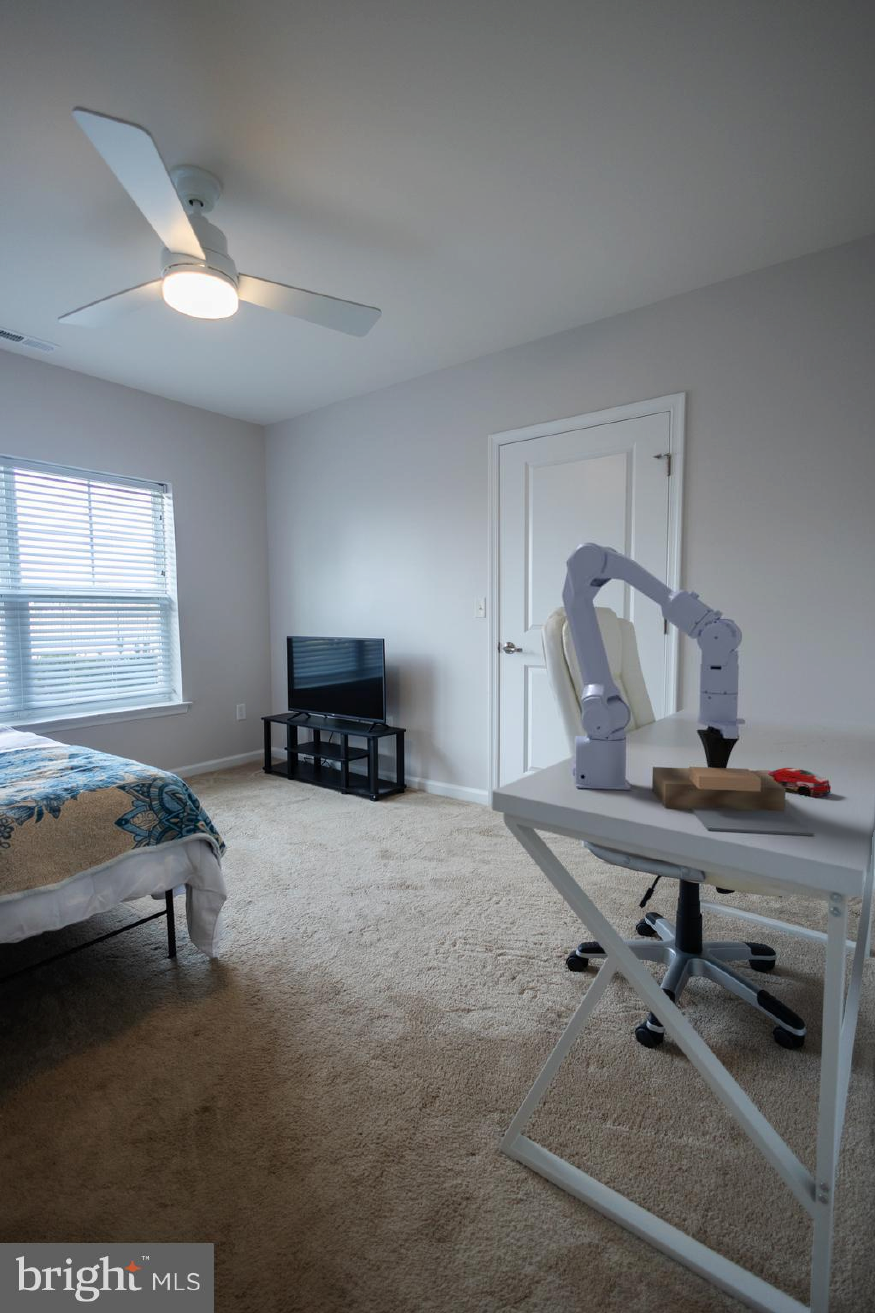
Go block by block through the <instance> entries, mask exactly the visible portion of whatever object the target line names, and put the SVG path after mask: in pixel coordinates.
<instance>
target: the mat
mask: <svg viewBox="0 0 875 1313" xmlns="http://www.w3.org/2000/svg"><path fill="white" fill-rule="evenodd" d="M690 810H691V811H692V813H693V814H694V813H695V814H694V815H695V816H696V818H697V819H698V820H699V821H700V822H701V824H702V825H703V826H704V828H705V829H706V830H707V831H709V832H710V831H713V832H715V831H716V832H729V833H730V832H731V833H733V832H736V833H752V834H768V835H769V834H771V835H772V834H775V835H791V836H808V837H809V836H810V837H811V836H812V837H813V836H814V832H812V831H811V830H810V829H809V828H808V827H806V826H805V825H803V824H802V823H801V822H800V821H798V820H797V819H796V818H795V817H793V816H792V815H791V814H789V812H787V811H786V810H785V811H777V810H755V809H734V808H712V807H691V809H690Z"/></svg>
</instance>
